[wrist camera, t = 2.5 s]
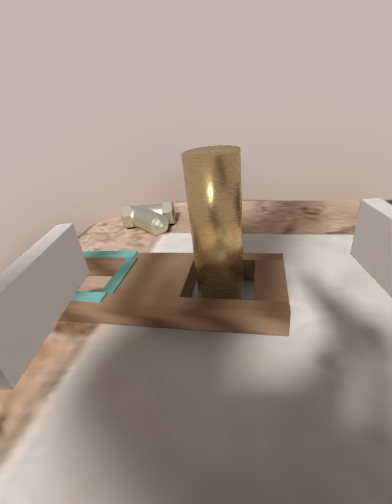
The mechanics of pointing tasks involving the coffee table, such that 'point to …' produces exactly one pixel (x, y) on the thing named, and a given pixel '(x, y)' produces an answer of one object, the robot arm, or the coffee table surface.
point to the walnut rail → (180, 294)
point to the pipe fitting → (149, 217)
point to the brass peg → (216, 219)
